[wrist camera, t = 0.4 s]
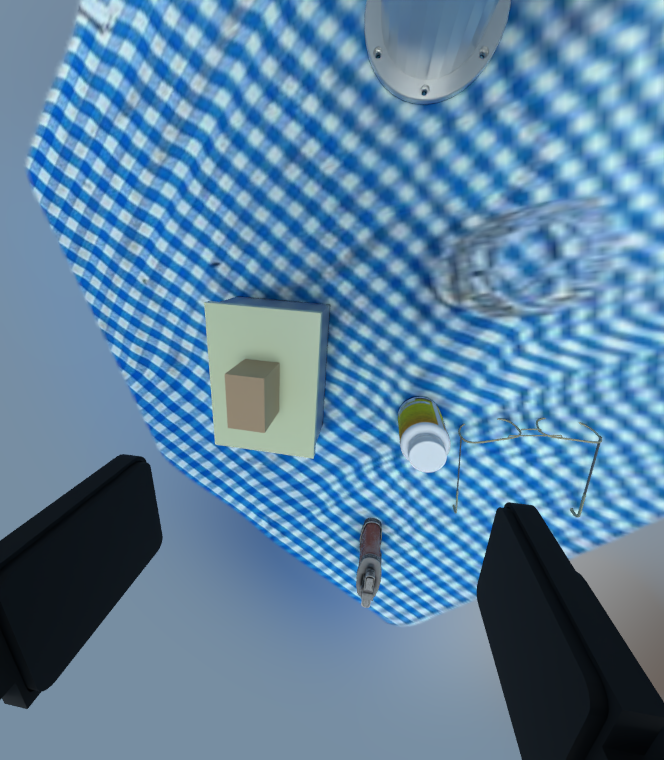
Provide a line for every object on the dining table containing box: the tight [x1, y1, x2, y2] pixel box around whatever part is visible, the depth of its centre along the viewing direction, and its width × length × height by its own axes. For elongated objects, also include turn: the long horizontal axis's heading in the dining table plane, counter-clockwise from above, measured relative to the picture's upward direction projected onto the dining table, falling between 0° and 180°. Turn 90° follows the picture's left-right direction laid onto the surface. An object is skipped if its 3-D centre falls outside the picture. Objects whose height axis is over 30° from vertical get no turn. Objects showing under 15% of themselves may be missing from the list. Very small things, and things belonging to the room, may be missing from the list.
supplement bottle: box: [398, 397, 451, 473], centre depth 40 cm, size 6×6×10 cm
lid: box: [204, 301, 323, 458], centre depth 36 cm, size 18×13×8 cm
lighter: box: [356, 518, 382, 608], centre depth 49 cm, size 8×3×10 cm, turn 176°
